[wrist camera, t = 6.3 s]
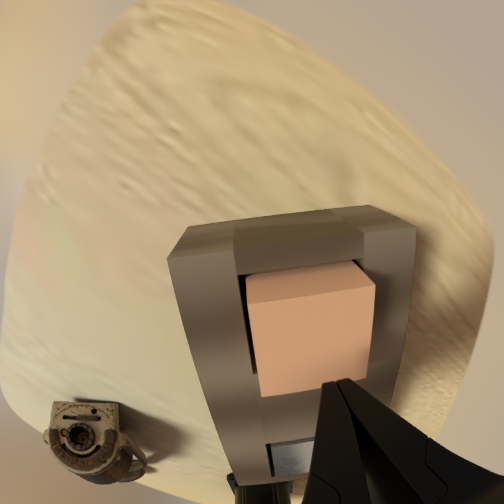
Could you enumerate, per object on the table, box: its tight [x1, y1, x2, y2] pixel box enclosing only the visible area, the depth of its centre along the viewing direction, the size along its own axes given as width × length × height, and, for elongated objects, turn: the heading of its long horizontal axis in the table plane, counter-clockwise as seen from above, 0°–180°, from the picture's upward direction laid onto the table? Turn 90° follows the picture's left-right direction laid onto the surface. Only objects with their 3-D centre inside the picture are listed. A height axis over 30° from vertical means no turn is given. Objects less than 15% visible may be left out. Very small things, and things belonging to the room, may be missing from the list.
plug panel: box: [167, 205, 417, 486], centre depth 16 cm, size 18×10×5 cm, turn 7°
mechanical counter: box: [43, 401, 147, 484], centre depth 18 cm, size 7×13×10 cm
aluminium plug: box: [270, 436, 315, 477], centre depth 18 cm, size 4×4×5 cm
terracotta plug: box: [246, 260, 375, 397], centre depth 12 cm, size 4×4×5 cm
